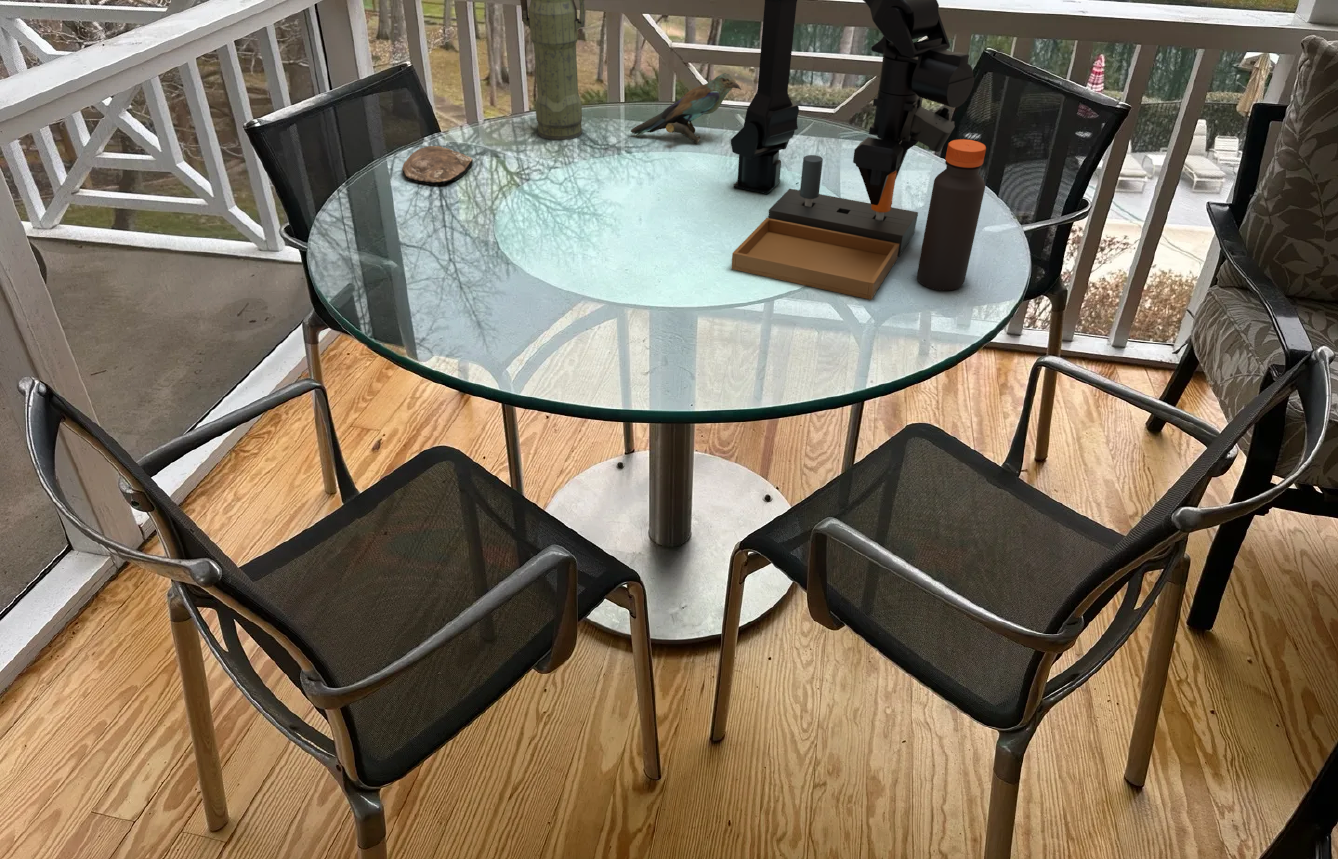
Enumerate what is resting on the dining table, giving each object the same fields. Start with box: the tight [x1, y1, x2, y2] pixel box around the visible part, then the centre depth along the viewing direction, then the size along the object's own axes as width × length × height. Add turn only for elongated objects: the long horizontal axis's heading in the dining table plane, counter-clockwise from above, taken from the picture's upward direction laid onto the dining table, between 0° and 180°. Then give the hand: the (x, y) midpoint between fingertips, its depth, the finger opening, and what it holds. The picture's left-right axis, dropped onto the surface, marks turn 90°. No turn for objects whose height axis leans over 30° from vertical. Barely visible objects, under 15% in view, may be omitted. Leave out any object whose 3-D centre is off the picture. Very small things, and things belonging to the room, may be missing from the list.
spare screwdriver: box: [799, 154, 824, 207], centre depth 148 cm, size 3×3×11 cm
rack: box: [767, 188, 919, 258], centre depth 149 cm, size 10×21×4 cm, turn 64°
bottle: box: [916, 138, 987, 292], centre depth 130 cm, size 7×7×20 cm
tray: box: [731, 217, 899, 301], centre depth 139 cm, size 21×14×3 cm
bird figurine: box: [630, 72, 742, 145], centre depth 180 cm, size 13×10×20 cm
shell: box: [401, 145, 474, 186], centre depth 167 cm, size 12×13×4 cm
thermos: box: [519, 0, 586, 141], centre depth 176 cm, size 9×12×35 cm
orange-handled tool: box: [871, 171, 897, 221], centre depth 144 cm, size 3×3×11 cm
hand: (882, 193), depth 143 cm, fingers open, 9 cm apart
